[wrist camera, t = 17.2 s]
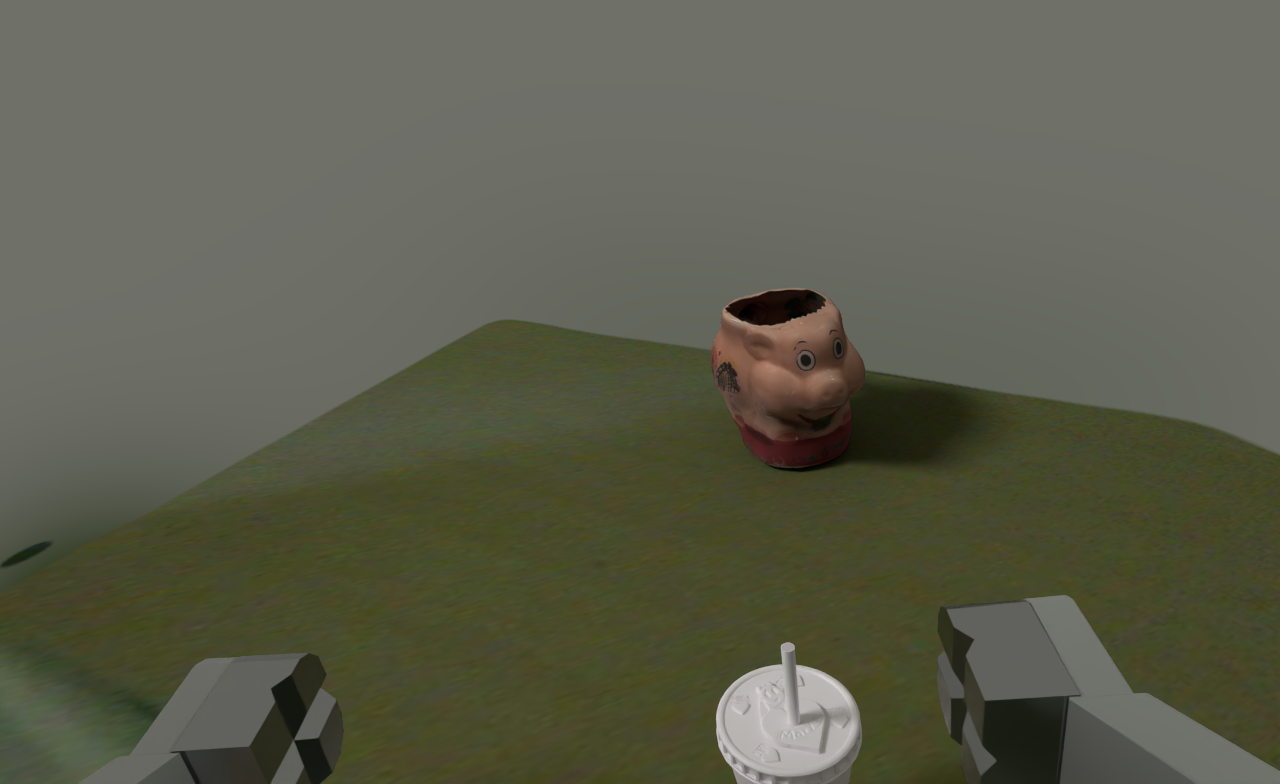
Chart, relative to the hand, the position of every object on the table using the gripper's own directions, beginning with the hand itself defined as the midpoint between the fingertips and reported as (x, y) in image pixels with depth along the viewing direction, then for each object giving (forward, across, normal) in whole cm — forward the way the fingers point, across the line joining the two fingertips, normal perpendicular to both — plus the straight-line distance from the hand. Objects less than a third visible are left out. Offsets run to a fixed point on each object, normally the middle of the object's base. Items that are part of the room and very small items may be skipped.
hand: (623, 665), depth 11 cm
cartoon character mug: (+62, -7, +32) cm, 70 cm away
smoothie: (+19, -3, +32) cm, 37 cm away
